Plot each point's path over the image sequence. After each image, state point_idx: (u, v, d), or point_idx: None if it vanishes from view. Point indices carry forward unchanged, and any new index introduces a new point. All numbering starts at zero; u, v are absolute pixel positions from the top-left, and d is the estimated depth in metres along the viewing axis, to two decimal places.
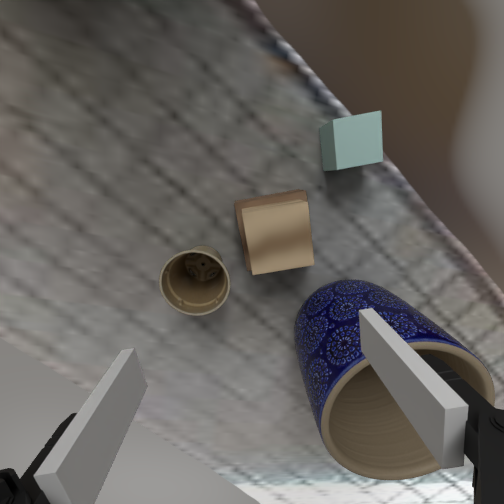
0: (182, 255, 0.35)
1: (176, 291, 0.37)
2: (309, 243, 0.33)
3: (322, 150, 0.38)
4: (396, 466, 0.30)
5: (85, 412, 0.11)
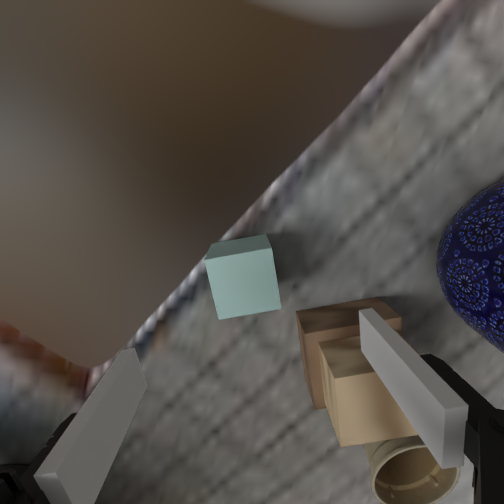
0: None
1: (415, 476, 0.31)
2: None
3: None
4: None
5: (85, 412, 0.11)
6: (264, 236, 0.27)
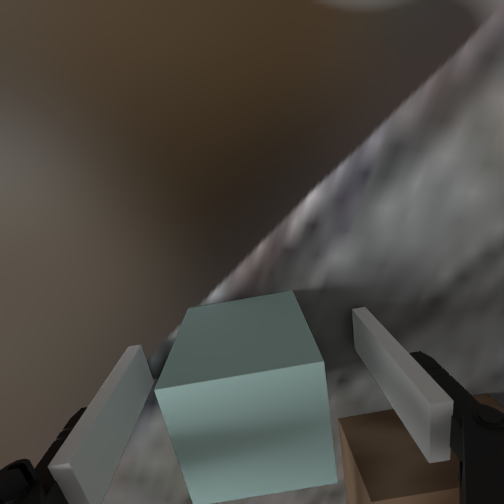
0: None
1: None
2: None
3: None
4: None
5: (95, 406, 0.11)
6: (291, 299, 0.14)
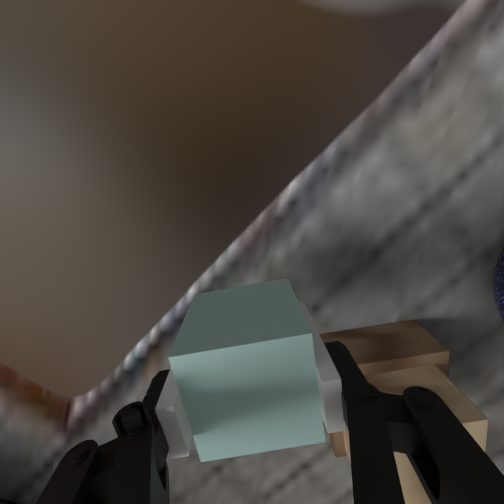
0: None
1: None
2: None
3: None
4: None
5: None
6: (286, 286, 0.15)
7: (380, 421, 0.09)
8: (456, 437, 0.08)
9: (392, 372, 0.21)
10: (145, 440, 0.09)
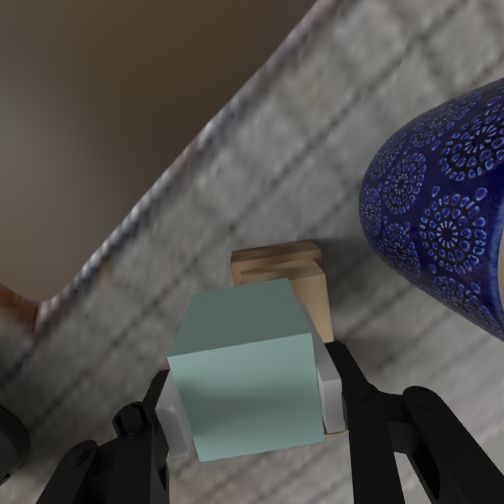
0: None
1: None
2: (294, 283, 0.24)
3: None
4: None
5: None
6: (286, 285, 0.15)
7: (380, 421, 0.09)
8: (456, 437, 0.08)
9: (280, 264, 0.29)
10: (145, 440, 0.09)
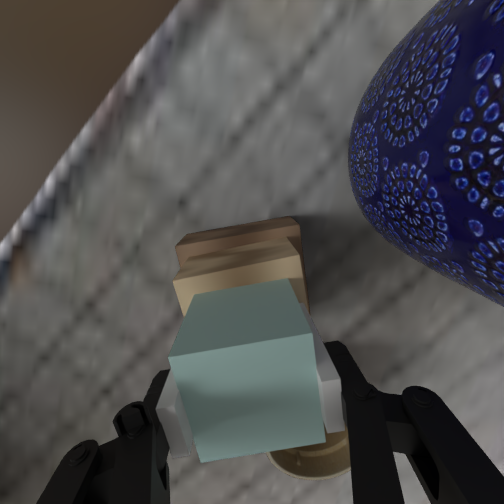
0: None
1: (332, 440, 0.25)
2: (253, 269, 0.16)
3: None
4: None
5: None
6: (286, 286, 0.15)
7: (379, 421, 0.09)
8: (455, 437, 0.08)
9: (243, 246, 0.21)
10: (146, 440, 0.09)
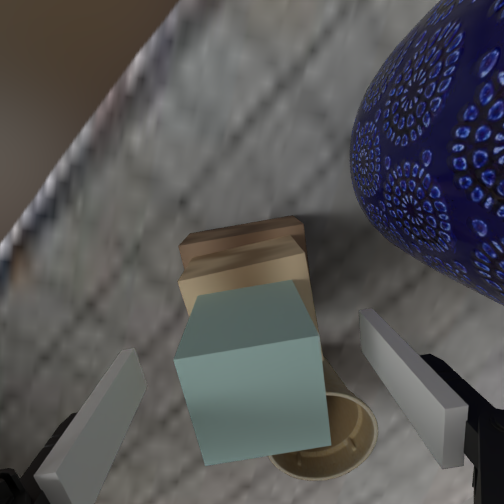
0: None
1: (333, 440, 0.25)
2: (258, 268, 0.16)
3: None
4: None
5: (85, 412, 0.11)
6: (291, 287, 0.15)
7: None
8: None
9: (247, 245, 0.21)
10: None
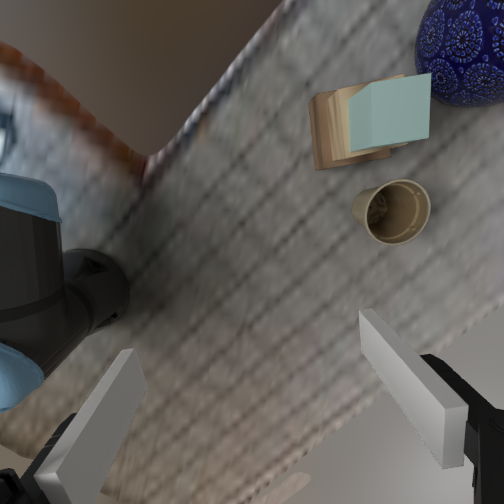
0: None
1: (398, 232, 0.40)
2: None
3: (376, 147, 0.33)
4: None
5: (85, 412, 0.11)
6: None
7: None
8: None
9: None
10: None
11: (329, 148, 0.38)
